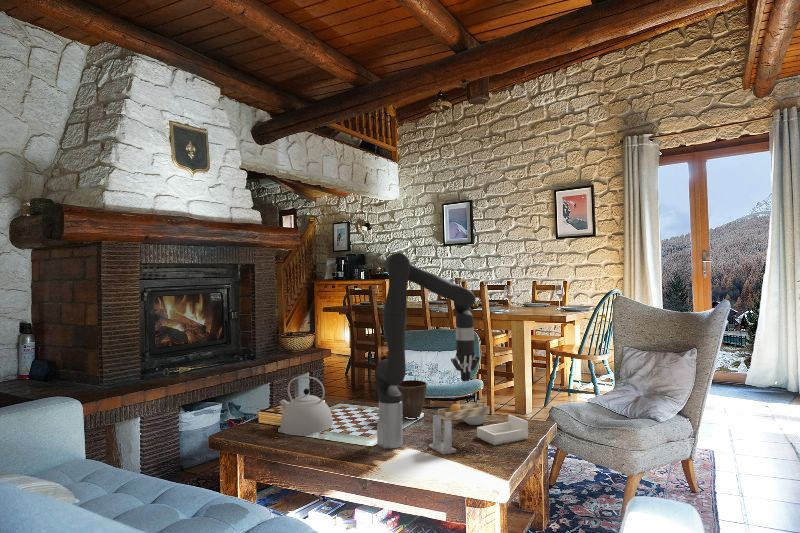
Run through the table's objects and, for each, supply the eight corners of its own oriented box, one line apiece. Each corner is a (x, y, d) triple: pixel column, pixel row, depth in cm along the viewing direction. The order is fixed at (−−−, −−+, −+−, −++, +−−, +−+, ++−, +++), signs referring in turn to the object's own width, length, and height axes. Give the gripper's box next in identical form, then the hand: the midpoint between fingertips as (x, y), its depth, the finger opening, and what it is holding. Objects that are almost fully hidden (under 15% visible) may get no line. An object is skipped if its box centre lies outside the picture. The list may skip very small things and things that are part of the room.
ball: (453, 416, 198) (453, 405, 198) (448, 413, 202) (448, 403, 202) (462, 414, 200) (462, 404, 200) (456, 412, 204) (456, 402, 204)
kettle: (265, 432, 222) (265, 379, 222) (291, 418, 244) (291, 370, 244) (318, 437, 215) (318, 382, 215) (340, 422, 236) (340, 372, 237)
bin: (494, 445, 202) (494, 427, 202) (477, 437, 212) (476, 419, 212) (528, 438, 209) (528, 421, 210) (509, 431, 220) (509, 414, 220)
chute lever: (446, 421, 195) (446, 413, 196) (426, 411, 209) (426, 404, 209) (489, 414, 204) (489, 406, 205) (467, 405, 218) (467, 398, 218)
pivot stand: (442, 454, 192) (442, 422, 192) (429, 446, 201) (428, 415, 201) (456, 452, 195) (455, 419, 195) (442, 444, 204) (441, 413, 204)
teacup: (487, 426, 226) (487, 408, 226) (462, 427, 227) (462, 408, 227) (483, 418, 240) (483, 400, 240) (459, 418, 240) (459, 400, 241)
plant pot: (412, 424, 231) (412, 388, 231) (388, 418, 241) (388, 383, 241) (433, 417, 242) (433, 382, 243) (409, 411, 252) (409, 378, 253)
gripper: (456, 340, 206) (456, 384, 206) (484, 338, 212) (484, 381, 212) (446, 338, 213) (446, 381, 213) (473, 336, 219) (473, 377, 219)
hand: (465, 380), depth 212 cm, fingers closed
